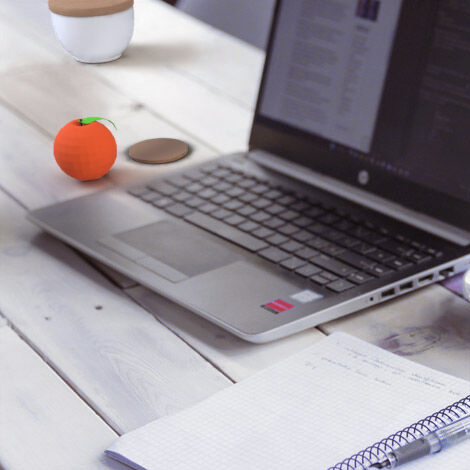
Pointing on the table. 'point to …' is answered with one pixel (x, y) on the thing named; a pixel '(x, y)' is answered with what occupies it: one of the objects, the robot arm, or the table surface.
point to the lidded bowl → (93, 27)
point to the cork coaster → (158, 150)
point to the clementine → (85, 149)
